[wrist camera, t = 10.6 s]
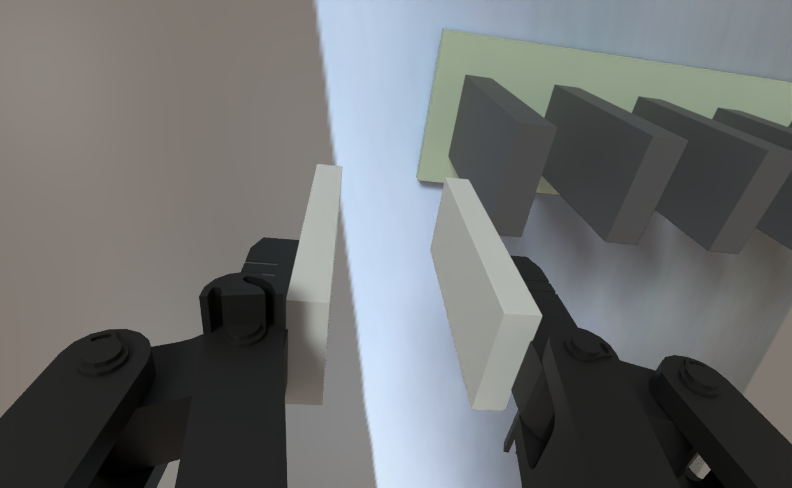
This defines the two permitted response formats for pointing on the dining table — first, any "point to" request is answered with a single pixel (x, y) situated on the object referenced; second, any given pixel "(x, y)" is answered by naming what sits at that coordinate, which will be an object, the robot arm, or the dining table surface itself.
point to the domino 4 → (788, 211)
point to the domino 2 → (608, 162)
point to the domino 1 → (500, 151)
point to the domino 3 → (716, 177)
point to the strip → (591, 71)
